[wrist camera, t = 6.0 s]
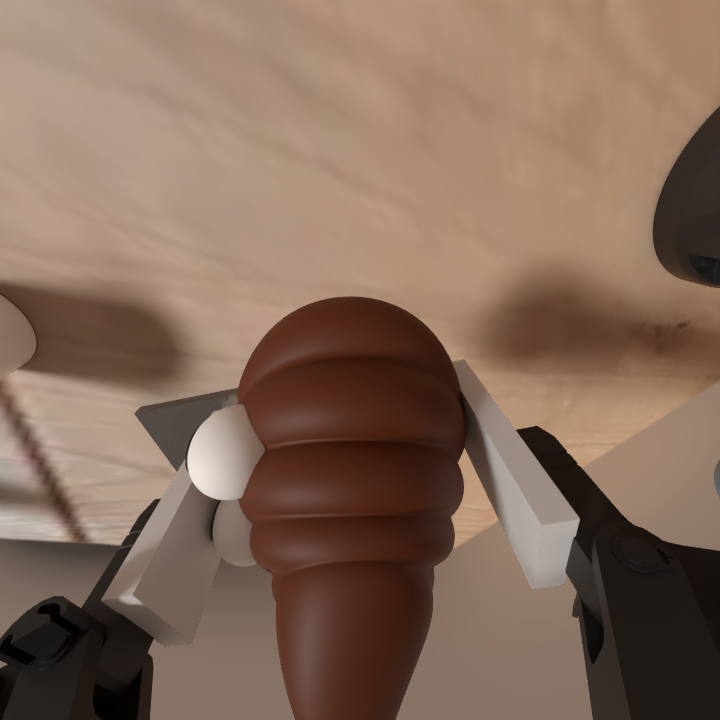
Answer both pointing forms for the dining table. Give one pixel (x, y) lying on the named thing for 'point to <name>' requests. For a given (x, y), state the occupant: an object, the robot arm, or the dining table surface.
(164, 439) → the post stand
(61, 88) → the dining table surface
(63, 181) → the dining table surface
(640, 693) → the robot arm
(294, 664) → the poop emoji
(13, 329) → the candle holder
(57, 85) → the dining table surface
